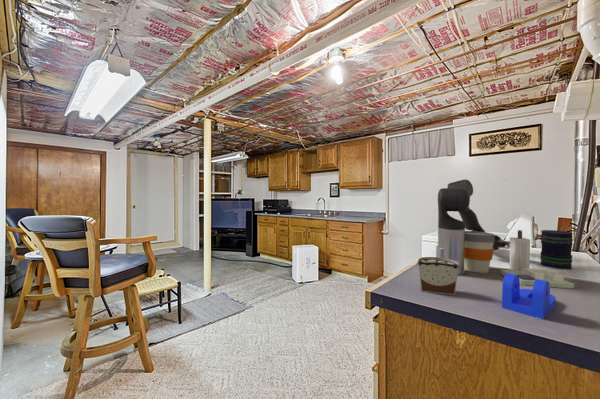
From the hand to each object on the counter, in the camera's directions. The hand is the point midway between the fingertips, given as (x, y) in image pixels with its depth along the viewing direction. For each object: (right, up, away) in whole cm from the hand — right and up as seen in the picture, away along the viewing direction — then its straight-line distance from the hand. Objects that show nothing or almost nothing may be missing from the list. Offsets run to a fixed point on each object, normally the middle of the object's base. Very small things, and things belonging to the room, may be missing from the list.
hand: (506, 247), depth 116 cm
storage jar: (+19, -8, -3) cm, 21 cm away
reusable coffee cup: (-19, -8, -8) cm, 22 cm away
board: (-7, -8, -22) cm, 24 cm away
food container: (-48, -8, -31) cm, 58 cm away
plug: (-2, -8, -9) cm, 12 cm away
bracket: (-27, -9, -43) cm, 51 cm away
